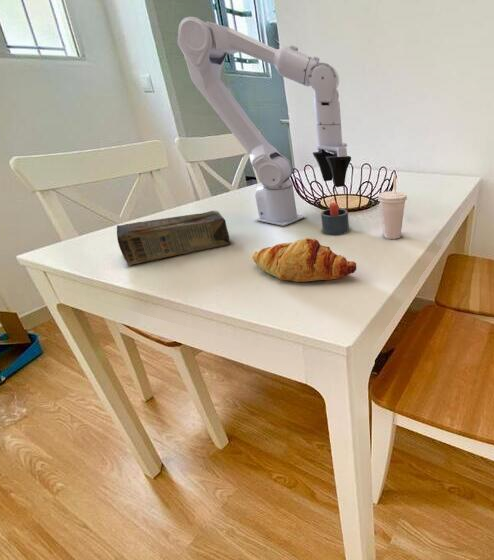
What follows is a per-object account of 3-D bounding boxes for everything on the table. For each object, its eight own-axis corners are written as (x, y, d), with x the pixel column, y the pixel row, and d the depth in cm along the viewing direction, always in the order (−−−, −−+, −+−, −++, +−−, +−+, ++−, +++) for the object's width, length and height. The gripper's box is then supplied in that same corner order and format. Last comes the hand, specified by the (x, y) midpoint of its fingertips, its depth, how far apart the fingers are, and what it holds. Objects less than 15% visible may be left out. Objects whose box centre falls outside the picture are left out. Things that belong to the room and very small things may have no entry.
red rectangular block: (329, 229, 82) (327, 204, 79) (334, 226, 84) (332, 202, 81) (336, 230, 81) (334, 205, 79) (341, 227, 83) (339, 203, 80)
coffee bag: (232, 244, 75) (225, 215, 72) (126, 268, 65) (113, 235, 62) (224, 234, 81) (217, 207, 77) (125, 254, 71) (112, 224, 67)
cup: (317, 232, 82) (315, 214, 80) (333, 224, 87) (331, 207, 84) (338, 236, 79) (337, 217, 77) (353, 228, 84) (352, 210, 82)
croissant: (249, 287, 65) (226, 262, 59) (271, 247, 70) (253, 219, 64) (353, 301, 60) (340, 275, 53) (368, 256, 65) (359, 227, 58)
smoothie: (403, 242, 76) (404, 178, 70) (375, 240, 77) (373, 176, 71) (408, 232, 82) (409, 172, 75) (382, 230, 83) (381, 170, 76)
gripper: (357, 125, 76) (360, 187, 82) (333, 121, 87) (337, 176, 93) (327, 126, 73) (333, 190, 79) (305, 122, 83) (312, 179, 90)
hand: (333, 183), depth 86 cm, fingers open, 7 cm apart
